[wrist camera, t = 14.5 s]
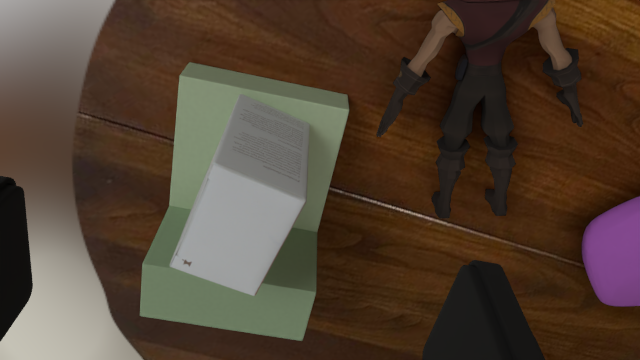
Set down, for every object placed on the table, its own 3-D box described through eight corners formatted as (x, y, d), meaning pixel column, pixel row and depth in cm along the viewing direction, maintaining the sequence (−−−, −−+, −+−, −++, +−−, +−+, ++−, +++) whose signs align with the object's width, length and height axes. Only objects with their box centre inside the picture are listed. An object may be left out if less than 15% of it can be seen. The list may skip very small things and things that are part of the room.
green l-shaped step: (189, 61, 38) (149, 116, 29) (347, 94, 39) (354, 156, 30) (174, 233, 46) (139, 316, 37) (306, 255, 47) (302, 341, 38)
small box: (269, 205, 41) (254, 300, 31) (202, 179, 39) (166, 270, 30) (313, 122, 37) (309, 202, 28) (240, 89, 36) (212, 163, 27)
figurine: (549, 182, 44) (610, -77, 33) (569, 213, 40) (645, -65, 29) (373, 190, 44) (373, -62, 33) (378, 221, 41) (380, -49, 30)
